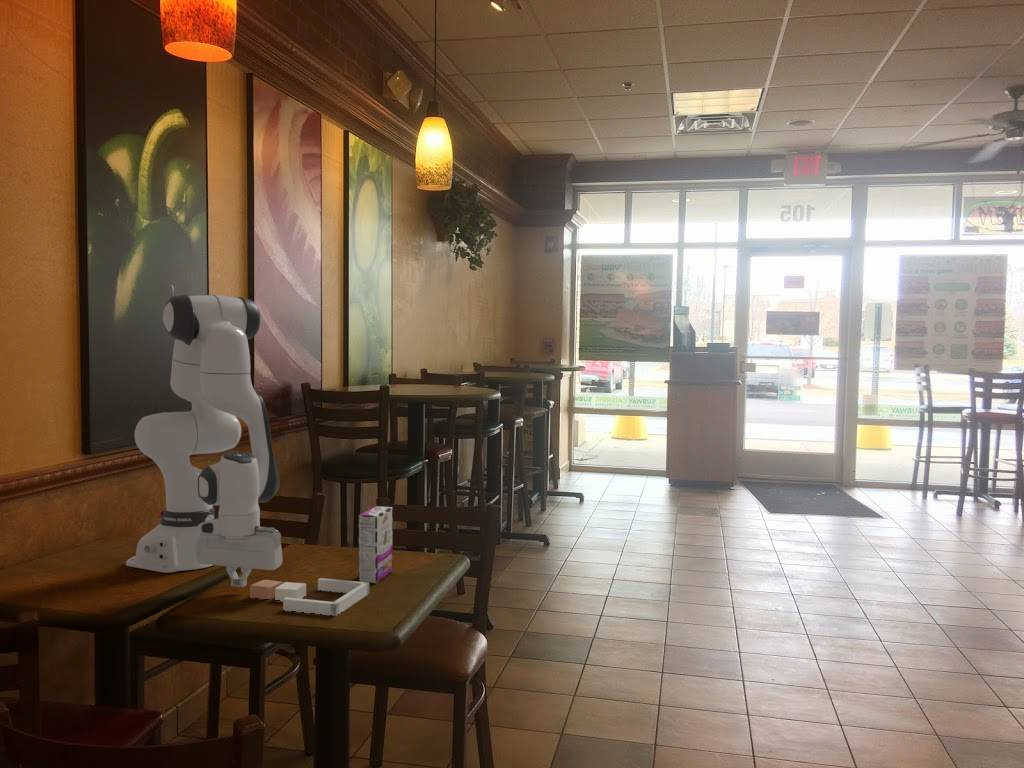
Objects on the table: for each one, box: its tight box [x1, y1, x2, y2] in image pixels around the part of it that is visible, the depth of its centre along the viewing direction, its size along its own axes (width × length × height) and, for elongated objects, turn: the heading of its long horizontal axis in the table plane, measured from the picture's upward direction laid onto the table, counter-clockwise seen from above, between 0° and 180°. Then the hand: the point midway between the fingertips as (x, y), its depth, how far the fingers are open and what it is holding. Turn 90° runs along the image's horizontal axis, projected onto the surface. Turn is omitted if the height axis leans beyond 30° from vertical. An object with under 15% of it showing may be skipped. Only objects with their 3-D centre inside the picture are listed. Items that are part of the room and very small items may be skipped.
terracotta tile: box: [249, 579, 284, 600], centre depth 178 cm, size 5×5×3 cm
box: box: [282, 577, 370, 617], centre depth 174 cm, size 12×16×2 cm
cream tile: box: [274, 581, 307, 602], centre depth 176 cm, size 5×5×3 cm
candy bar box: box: [358, 505, 394, 584], centre depth 194 cm, size 11×5×16 cm, turn 168°
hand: (239, 585), depth 180 cm, fingers closed
